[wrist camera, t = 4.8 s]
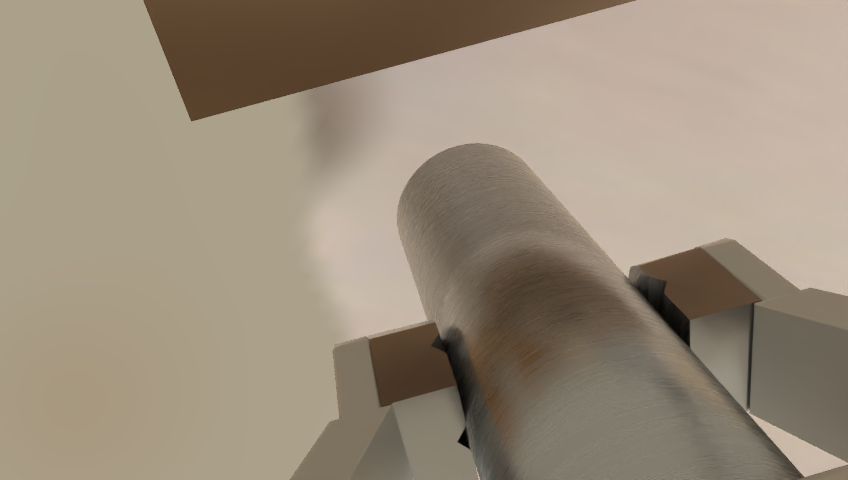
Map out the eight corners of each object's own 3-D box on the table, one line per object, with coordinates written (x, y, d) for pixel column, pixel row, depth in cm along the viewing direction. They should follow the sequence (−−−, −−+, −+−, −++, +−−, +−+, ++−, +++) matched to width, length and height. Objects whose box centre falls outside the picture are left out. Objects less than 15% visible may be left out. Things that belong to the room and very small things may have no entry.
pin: (382, 165, 13) (578, 721, 4) (531, 126, 13) (1012, 584, 4) (413, 294, 14) (609, 908, 6) (548, 258, 15) (938, 798, 6)
